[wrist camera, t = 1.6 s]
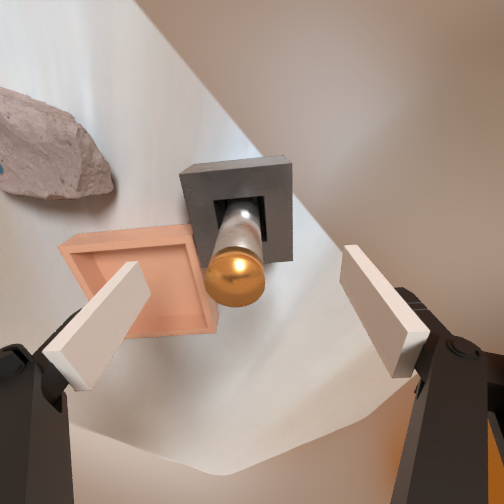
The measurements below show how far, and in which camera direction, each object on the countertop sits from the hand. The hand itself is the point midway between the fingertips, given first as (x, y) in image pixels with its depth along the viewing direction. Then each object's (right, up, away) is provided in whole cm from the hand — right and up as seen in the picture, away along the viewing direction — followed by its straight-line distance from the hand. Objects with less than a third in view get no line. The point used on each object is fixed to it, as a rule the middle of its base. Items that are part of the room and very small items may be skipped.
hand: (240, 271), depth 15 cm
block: (0, +7, +13) cm, 15 cm away
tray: (-13, -3, +18) cm, 23 cm away
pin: (0, +7, +13) cm, 15 cm away
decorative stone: (-21, +13, +10) cm, 26 cm away
